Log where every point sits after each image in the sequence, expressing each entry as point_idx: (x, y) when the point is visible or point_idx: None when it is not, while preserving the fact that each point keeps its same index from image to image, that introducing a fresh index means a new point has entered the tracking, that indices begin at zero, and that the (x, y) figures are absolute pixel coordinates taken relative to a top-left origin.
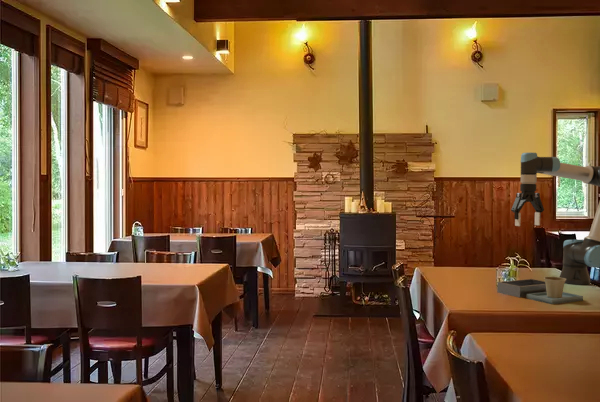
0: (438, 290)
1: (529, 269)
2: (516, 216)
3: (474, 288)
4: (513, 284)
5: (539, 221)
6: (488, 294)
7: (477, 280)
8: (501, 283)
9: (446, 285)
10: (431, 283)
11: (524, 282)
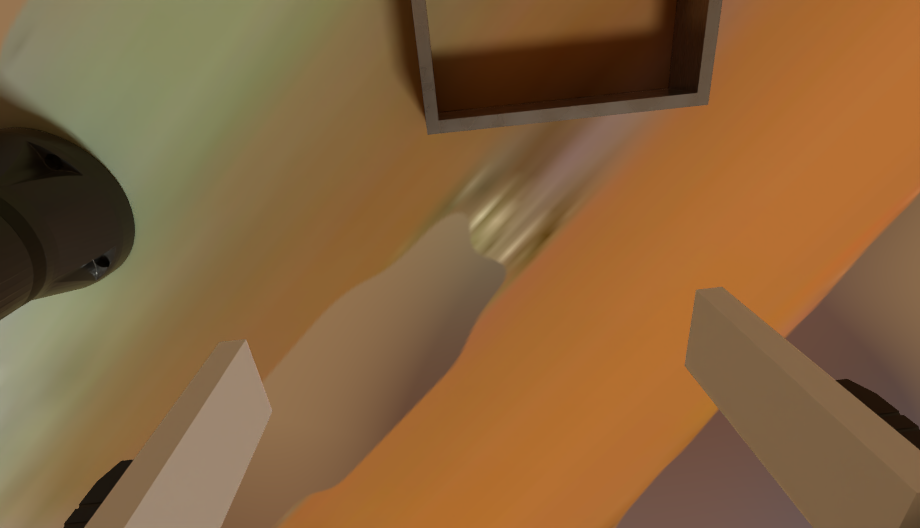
0: (879, 225)
1: None
2: (912, 429)
3: (694, 219)
4: (585, 101)
5: (198, 387)
6: (769, 60)
7: (523, 372)
8: (710, 70)
9: None
10: None
11: (498, 112)
